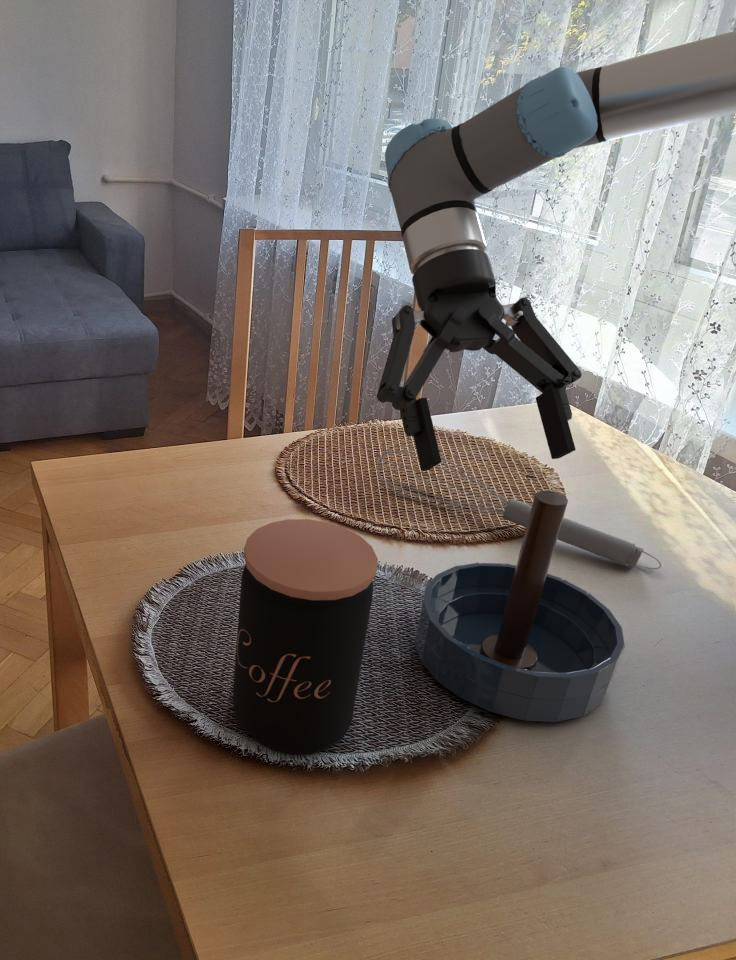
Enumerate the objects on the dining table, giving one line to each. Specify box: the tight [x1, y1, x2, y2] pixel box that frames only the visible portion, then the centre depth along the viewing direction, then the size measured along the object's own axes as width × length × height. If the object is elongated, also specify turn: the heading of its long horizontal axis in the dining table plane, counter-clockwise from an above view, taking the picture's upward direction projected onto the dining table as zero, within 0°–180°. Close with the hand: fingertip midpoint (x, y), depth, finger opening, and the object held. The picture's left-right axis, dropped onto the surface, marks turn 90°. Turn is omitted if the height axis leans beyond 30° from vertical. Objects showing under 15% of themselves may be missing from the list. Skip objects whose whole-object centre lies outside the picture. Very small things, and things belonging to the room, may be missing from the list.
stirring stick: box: [480, 490, 569, 671], centre depth 79 cm, size 5×5×18 cm
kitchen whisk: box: [375, 444, 662, 570], centre depth 104 cm, size 6×34×6 cm, turn 48°
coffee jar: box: [232, 518, 379, 756], centre depth 74 cm, size 11×11×18 cm
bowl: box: [414, 562, 626, 723], centre depth 83 cm, size 17×17×6 cm
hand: (498, 460), depth 83 cm, fingers open, 13 cm apart
